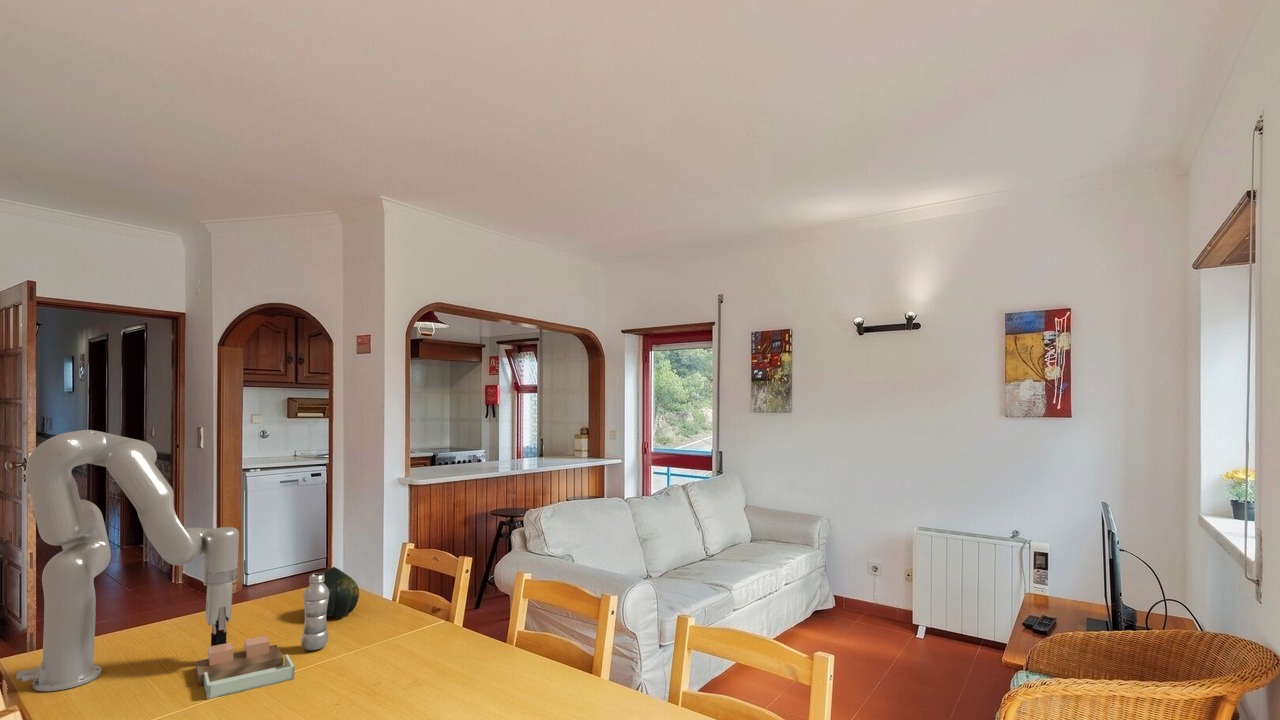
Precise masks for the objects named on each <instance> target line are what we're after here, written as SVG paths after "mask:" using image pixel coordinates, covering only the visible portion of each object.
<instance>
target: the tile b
mask: <svg viewBox="0 0 1280 720" xmlns="http://www.w3.org/2000/svg"><path fill="white" fill-rule="evenodd" d="M243 643H244V647H243V648H244V650H243V652H245V655H246V657H247V658H248V657H253V656H258V655H263V654H267V653H269V646H270V640H269V637H268V636H267V635H262V636H256V637H252V638H247V639H244V642H243Z"/></svg>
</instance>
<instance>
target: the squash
mask: <svg viewBox="0 0 1280 720" xmlns="http://www.w3.org/2000/svg"><path fill="white" fill-rule="evenodd" d="M323 573H324V579H325V581H324V582H323V583H324V584H325V585H326V586H327V588H328V589H329V592H330V593H329V599H328V605H327V612H326V617H334V618H335V619H341V618H344V617H345V615H346V616H347V615H348V614H351V613H352V612H353V611H354V610H355V608H356V607H357V605H358V602H359V598H360V589H359V586H358V584H357V582H356V581H355V580H354V578H352V577H351V576H349V575H348V574H346V573H345V572H344V571H342V570H341V569H339V568H338V567H336V566H332V567H331V568H328V569H327V570H325V572H323Z"/></svg>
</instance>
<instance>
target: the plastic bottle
mask: <svg viewBox="0 0 1280 720" xmlns="http://www.w3.org/2000/svg"><path fill="white" fill-rule="evenodd" d="M324 581H325V579H324V572H323V573H322V572H316V573H312V574H309V579H308V583H309V585H308V586H307V588H306V589H305V590H304V593H303V596H302V597H303V607H304V608H303V609H304V623H303V629H302V631H303V632H302V635H301V640H300V641H301V647H302V649H303V650H305V651H307V652H309V651H312V652H313V651H317V650H321V649H323V648H324V647H325V646H326V645H327V643H328V641H329V632H328V629H327V628H328V625H327V616H326V612H327V605H328V599H329V593H330V592H329V589H328V588H327V586H326V585H325V584H324V583H323V582H324Z"/></svg>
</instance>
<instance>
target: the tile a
mask: <svg viewBox="0 0 1280 720" xmlns="http://www.w3.org/2000/svg"><path fill="white" fill-rule="evenodd" d="M233 654H234V647H233V643H232V642H226V643H225V644H220V645H215V646H211V645H210V646H207V659H208V662H209V666H211V665H215V664H220V663H225V662H230V661H233Z"/></svg>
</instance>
